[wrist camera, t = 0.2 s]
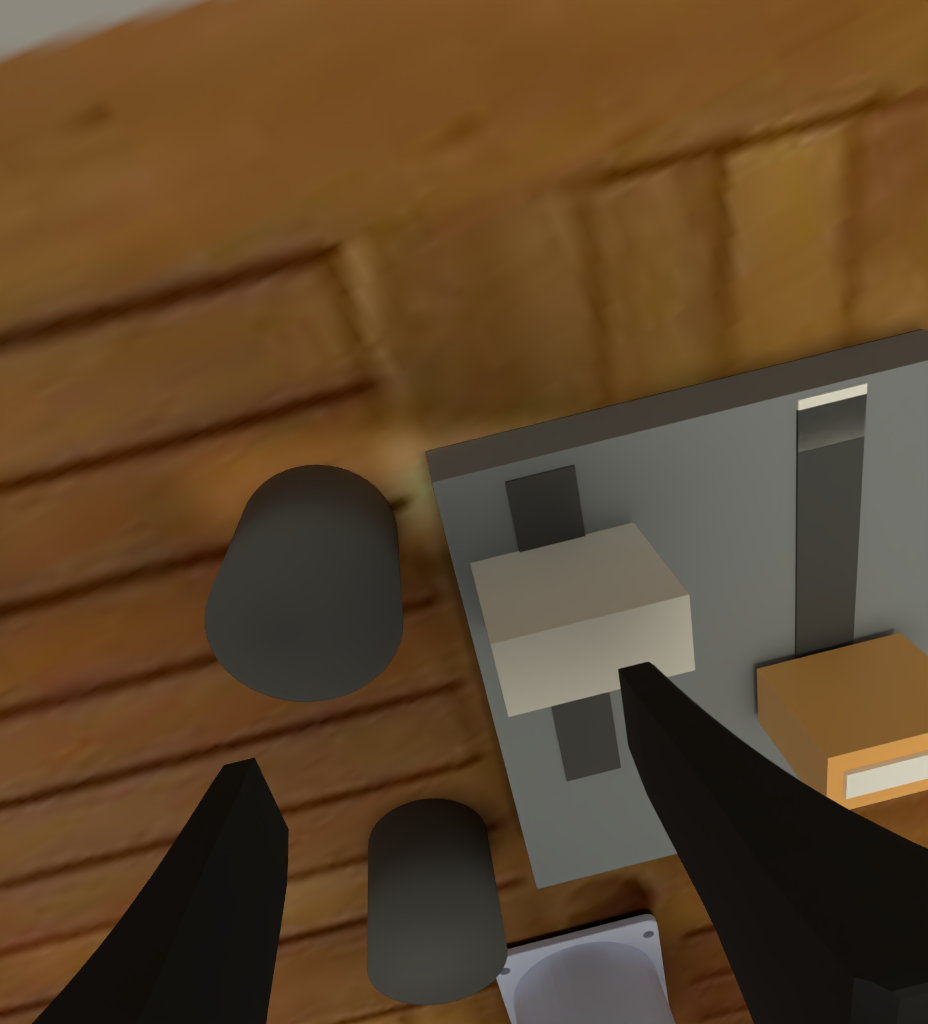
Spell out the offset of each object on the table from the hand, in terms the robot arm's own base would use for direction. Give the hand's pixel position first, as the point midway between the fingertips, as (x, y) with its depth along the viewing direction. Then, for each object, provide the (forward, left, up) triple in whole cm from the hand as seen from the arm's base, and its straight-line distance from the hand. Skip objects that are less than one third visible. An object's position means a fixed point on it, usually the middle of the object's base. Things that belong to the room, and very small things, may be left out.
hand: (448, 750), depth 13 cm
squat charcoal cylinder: (0, +3, -10) cm, 11 cm away
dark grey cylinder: (-15, +3, -10) cm, 18 cm away
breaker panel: (-7, -9, -10) cm, 15 cm away
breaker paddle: (-8, -12, -8) cm, 17 cm away
